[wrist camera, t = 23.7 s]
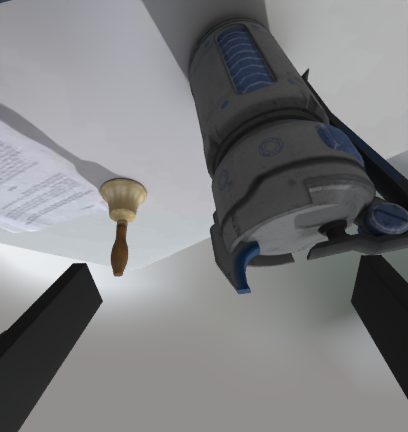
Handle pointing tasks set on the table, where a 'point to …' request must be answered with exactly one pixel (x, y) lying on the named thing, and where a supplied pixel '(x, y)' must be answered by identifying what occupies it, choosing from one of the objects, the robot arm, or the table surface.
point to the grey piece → (284, 160)
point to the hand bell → (122, 215)
